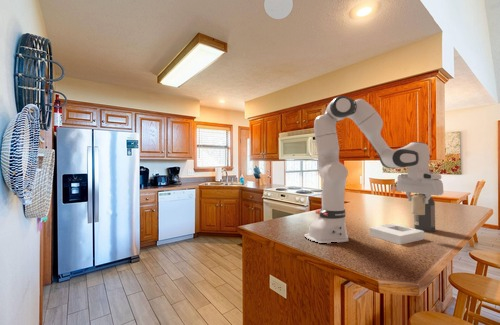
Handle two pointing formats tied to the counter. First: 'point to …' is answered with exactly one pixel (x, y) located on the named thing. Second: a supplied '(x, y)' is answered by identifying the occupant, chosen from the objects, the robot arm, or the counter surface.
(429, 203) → the liquor
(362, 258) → the counter surface
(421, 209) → the candle
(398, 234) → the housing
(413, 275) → the counter surface
